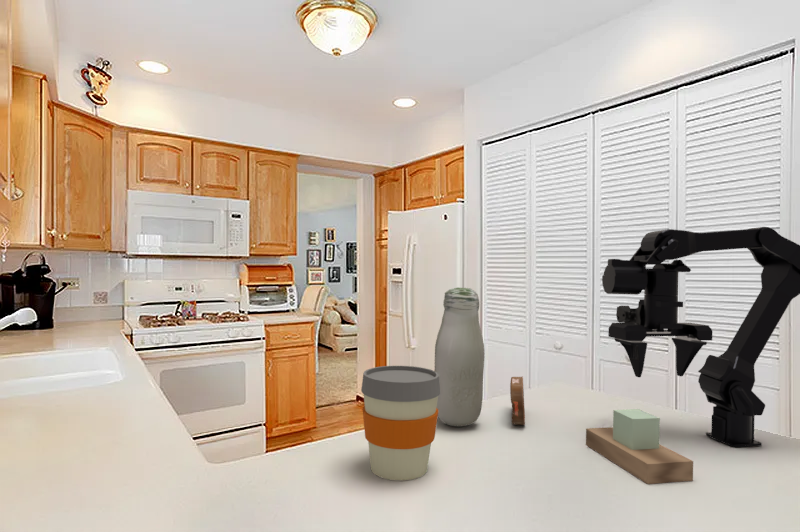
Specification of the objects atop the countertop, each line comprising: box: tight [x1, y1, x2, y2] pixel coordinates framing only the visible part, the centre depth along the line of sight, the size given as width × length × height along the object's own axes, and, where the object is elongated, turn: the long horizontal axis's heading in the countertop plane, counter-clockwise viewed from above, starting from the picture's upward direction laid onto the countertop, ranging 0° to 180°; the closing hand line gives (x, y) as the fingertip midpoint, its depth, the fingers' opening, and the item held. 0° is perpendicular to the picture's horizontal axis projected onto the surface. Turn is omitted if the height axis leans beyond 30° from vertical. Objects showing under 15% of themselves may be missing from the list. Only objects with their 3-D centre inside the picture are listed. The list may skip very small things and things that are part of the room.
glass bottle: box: [433, 287, 486, 428], centre depth 97 cm, size 10×10×28 cm
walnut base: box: [585, 426, 694, 485], centre depth 80 cm, size 8×16×3 cm, turn 11°
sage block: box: [612, 408, 661, 450], centre depth 80 cm, size 5×5×5 cm
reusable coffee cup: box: [360, 365, 440, 482], centre depth 75 cm, size 13×13×15 cm
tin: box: [509, 376, 526, 427], centre depth 102 cm, size 15×3×8 cm, turn 165°
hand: (659, 376), depth 92 cm, fingers open, 9 cm apart
